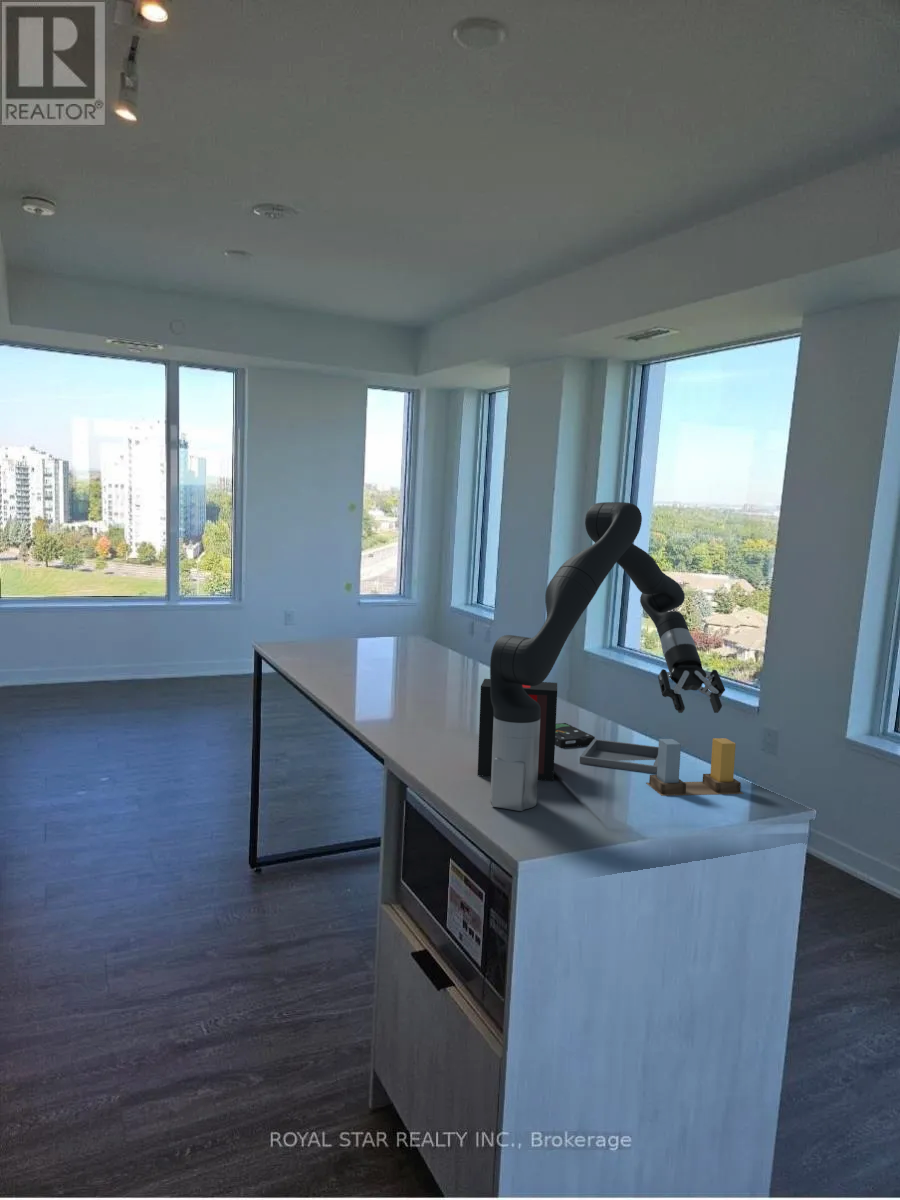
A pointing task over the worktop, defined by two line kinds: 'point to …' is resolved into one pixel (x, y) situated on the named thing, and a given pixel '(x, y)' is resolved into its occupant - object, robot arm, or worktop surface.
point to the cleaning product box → (548, 705)
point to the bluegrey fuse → (668, 761)
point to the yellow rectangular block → (722, 760)
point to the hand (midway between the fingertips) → (700, 711)
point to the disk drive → (571, 736)
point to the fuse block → (695, 787)
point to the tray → (620, 755)
